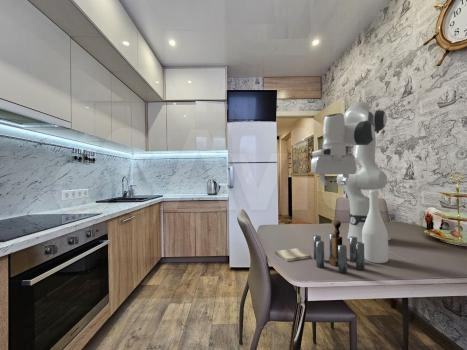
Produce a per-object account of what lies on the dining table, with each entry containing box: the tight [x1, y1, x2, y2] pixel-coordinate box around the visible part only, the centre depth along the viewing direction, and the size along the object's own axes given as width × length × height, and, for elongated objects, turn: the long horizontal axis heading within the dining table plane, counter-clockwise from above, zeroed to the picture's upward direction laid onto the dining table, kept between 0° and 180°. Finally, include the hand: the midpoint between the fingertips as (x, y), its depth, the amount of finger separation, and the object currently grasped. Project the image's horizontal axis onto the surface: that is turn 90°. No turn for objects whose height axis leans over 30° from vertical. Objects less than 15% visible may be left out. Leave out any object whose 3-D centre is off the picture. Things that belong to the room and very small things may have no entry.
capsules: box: [313, 233, 366, 275], centre depth 97 cm, size 20×18×10 cm
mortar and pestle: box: [328, 219, 343, 267], centre depth 97 cm, size 7×6×18 cm
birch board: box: [274, 247, 312, 262], centre depth 108 cm, size 12×11×1 cm
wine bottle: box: [361, 189, 389, 264], centre depth 101 cm, size 10×10×30 cm
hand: (334, 185), depth 98 cm, fingers open, 8 cm apart
